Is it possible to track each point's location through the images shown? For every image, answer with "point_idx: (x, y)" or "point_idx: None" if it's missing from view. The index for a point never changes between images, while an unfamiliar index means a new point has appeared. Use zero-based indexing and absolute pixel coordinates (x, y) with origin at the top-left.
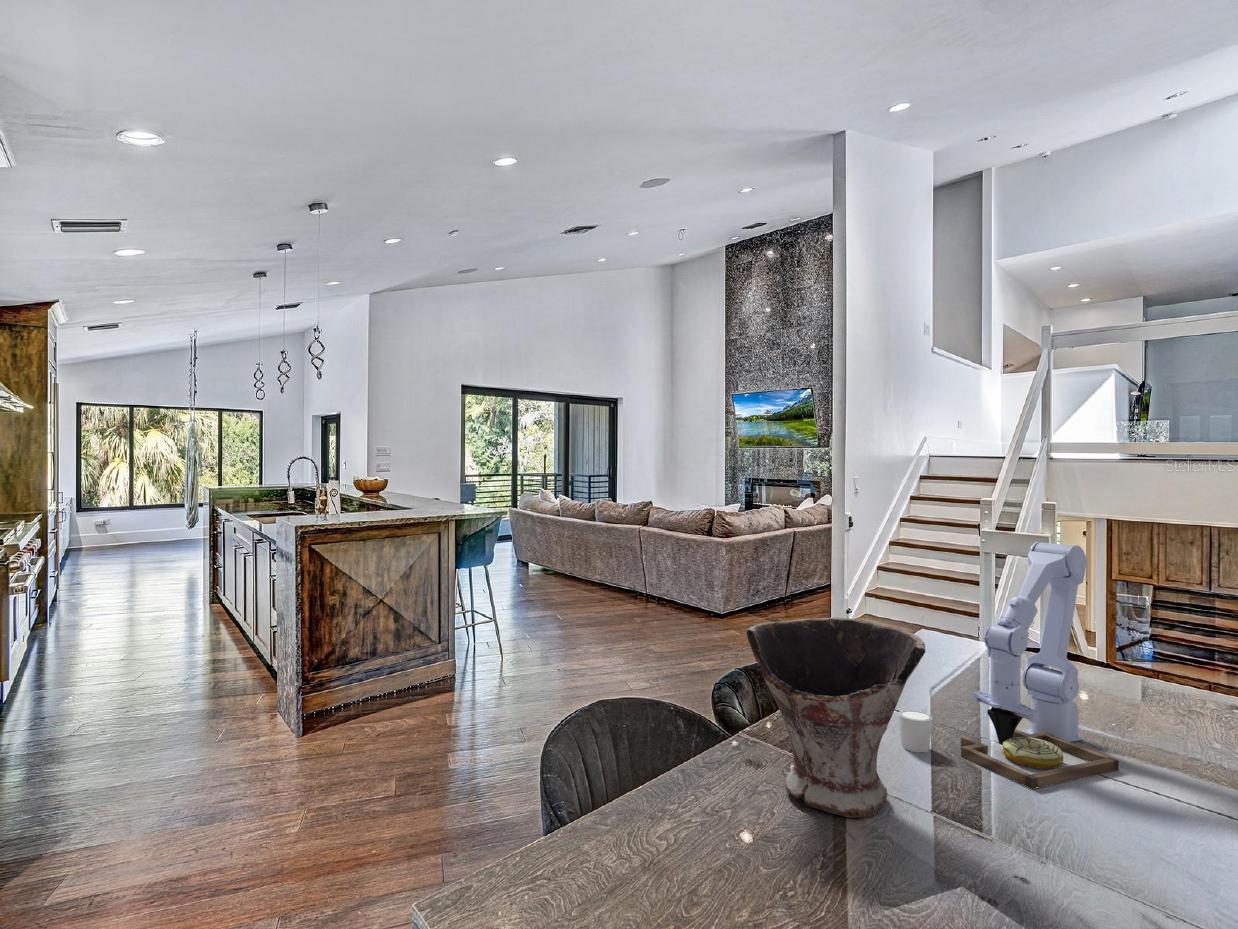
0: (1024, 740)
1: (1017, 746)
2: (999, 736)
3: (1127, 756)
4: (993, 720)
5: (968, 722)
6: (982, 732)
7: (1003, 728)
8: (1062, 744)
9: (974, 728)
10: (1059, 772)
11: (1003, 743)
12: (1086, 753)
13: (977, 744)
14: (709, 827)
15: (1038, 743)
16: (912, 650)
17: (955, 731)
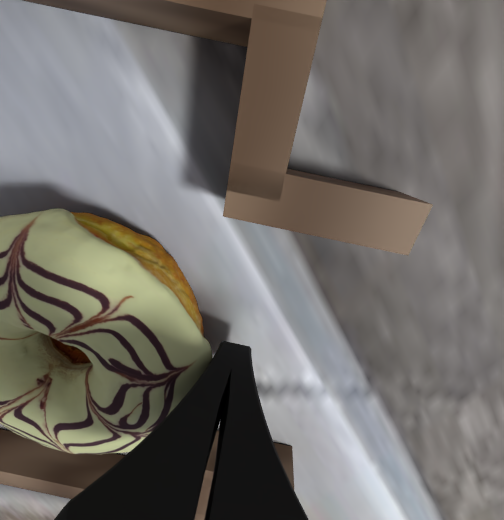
0: (99, 394)
1: (33, 277)
2: (235, 372)
3: (53, 514)
4: (260, 477)
5: (470, 482)
6: (386, 435)
7: (179, 421)
8: None
9: (429, 449)
10: None
11: (166, 302)
12: (33, 466)
13: (276, 168)
14: None
15: (54, 409)
16: None
17: (494, 371)
